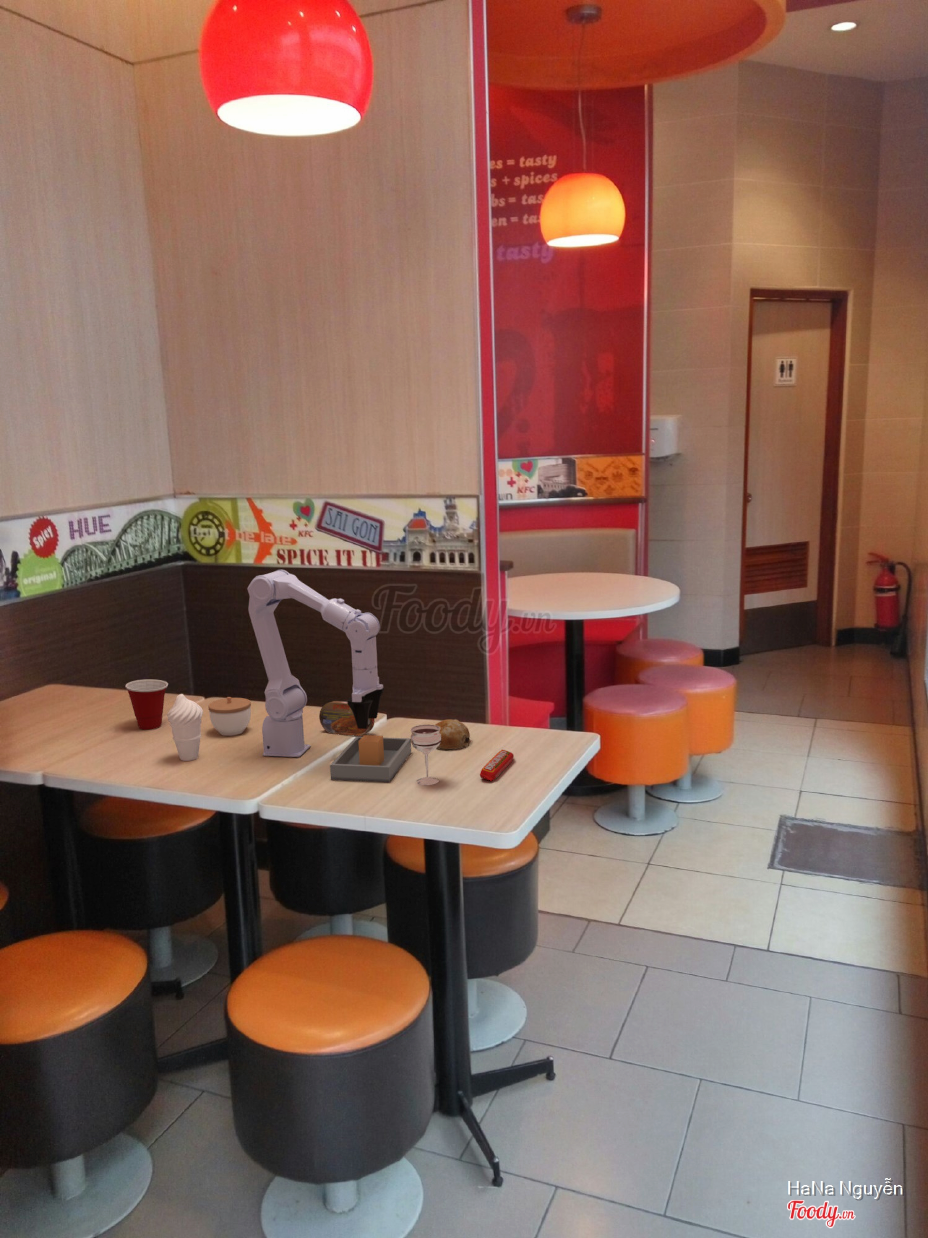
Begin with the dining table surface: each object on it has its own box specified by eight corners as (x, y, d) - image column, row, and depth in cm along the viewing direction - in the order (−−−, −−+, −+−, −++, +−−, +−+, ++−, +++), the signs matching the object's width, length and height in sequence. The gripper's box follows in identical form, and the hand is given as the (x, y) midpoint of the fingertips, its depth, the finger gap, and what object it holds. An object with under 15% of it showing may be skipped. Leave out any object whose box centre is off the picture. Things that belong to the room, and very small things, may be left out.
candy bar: (493, 784, 213) (492, 771, 213) (477, 783, 215) (477, 770, 214) (516, 760, 228) (516, 748, 227) (501, 758, 229) (501, 746, 229)
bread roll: (457, 765, 235) (470, 737, 233) (419, 747, 236) (432, 718, 234) (466, 751, 245) (478, 724, 242) (429, 733, 246) (441, 706, 243)
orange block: (359, 766, 225) (358, 741, 224) (365, 759, 229) (364, 735, 228) (378, 767, 224) (377, 742, 223) (384, 760, 228) (382, 735, 227)
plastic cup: (164, 732, 256) (160, 688, 253) (123, 733, 256) (119, 689, 253) (177, 719, 266) (173, 677, 264) (137, 720, 266) (133, 678, 264)
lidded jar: (217, 741, 247) (214, 705, 245) (205, 730, 256) (202, 696, 254) (258, 733, 252) (255, 698, 250) (245, 723, 262) (243, 689, 260)
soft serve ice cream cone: (214, 754, 238) (208, 691, 234) (191, 766, 230) (185, 700, 227) (187, 750, 241) (181, 688, 238) (163, 761, 234) (157, 697, 230)
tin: (319, 732, 252) (317, 701, 250) (325, 729, 255) (323, 698, 253) (371, 738, 246) (369, 706, 244) (377, 734, 249) (375, 702, 247)
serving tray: (330, 779, 218) (330, 765, 218) (357, 750, 237) (356, 736, 237) (389, 782, 216) (388, 767, 215) (411, 752, 235) (410, 738, 234)
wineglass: (423, 773, 220) (420, 722, 218) (448, 778, 217) (446, 726, 215) (406, 783, 215) (403, 731, 212) (432, 788, 211) (430, 735, 209)
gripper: (372, 675, 217) (374, 733, 220) (390, 659, 231) (392, 714, 234) (341, 674, 219) (345, 732, 221) (361, 658, 233) (364, 713, 235)
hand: (367, 723), depth 228 cm, fingers open, 7 cm apart
